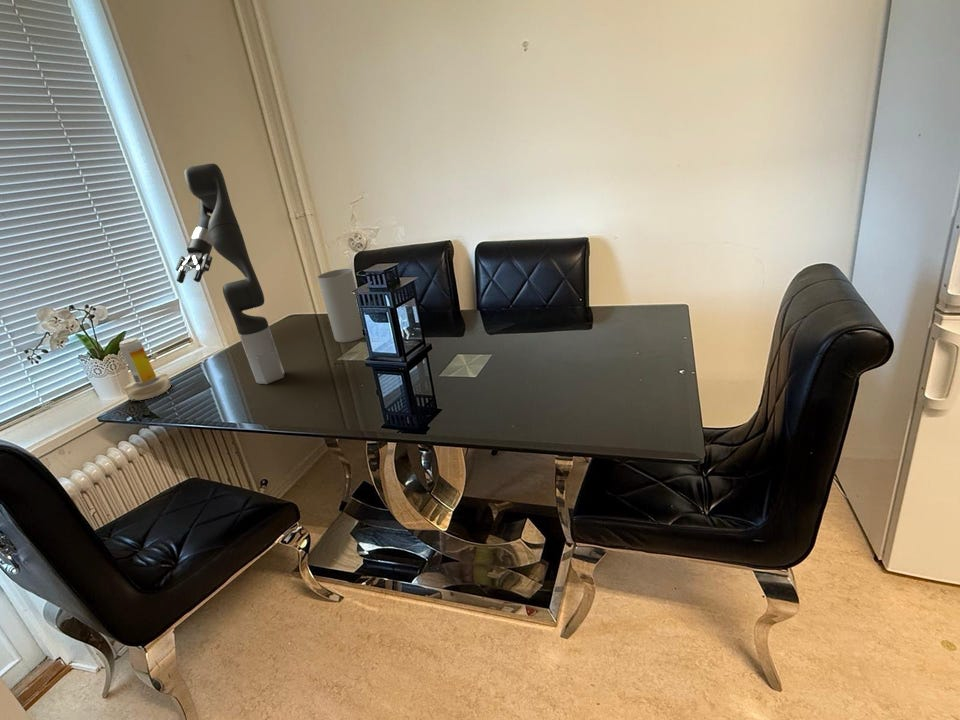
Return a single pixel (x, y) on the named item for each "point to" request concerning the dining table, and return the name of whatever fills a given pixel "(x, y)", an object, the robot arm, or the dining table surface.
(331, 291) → the cylinder vase
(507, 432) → the dining table surface
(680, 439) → the dining table surface
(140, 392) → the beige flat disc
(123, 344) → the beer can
